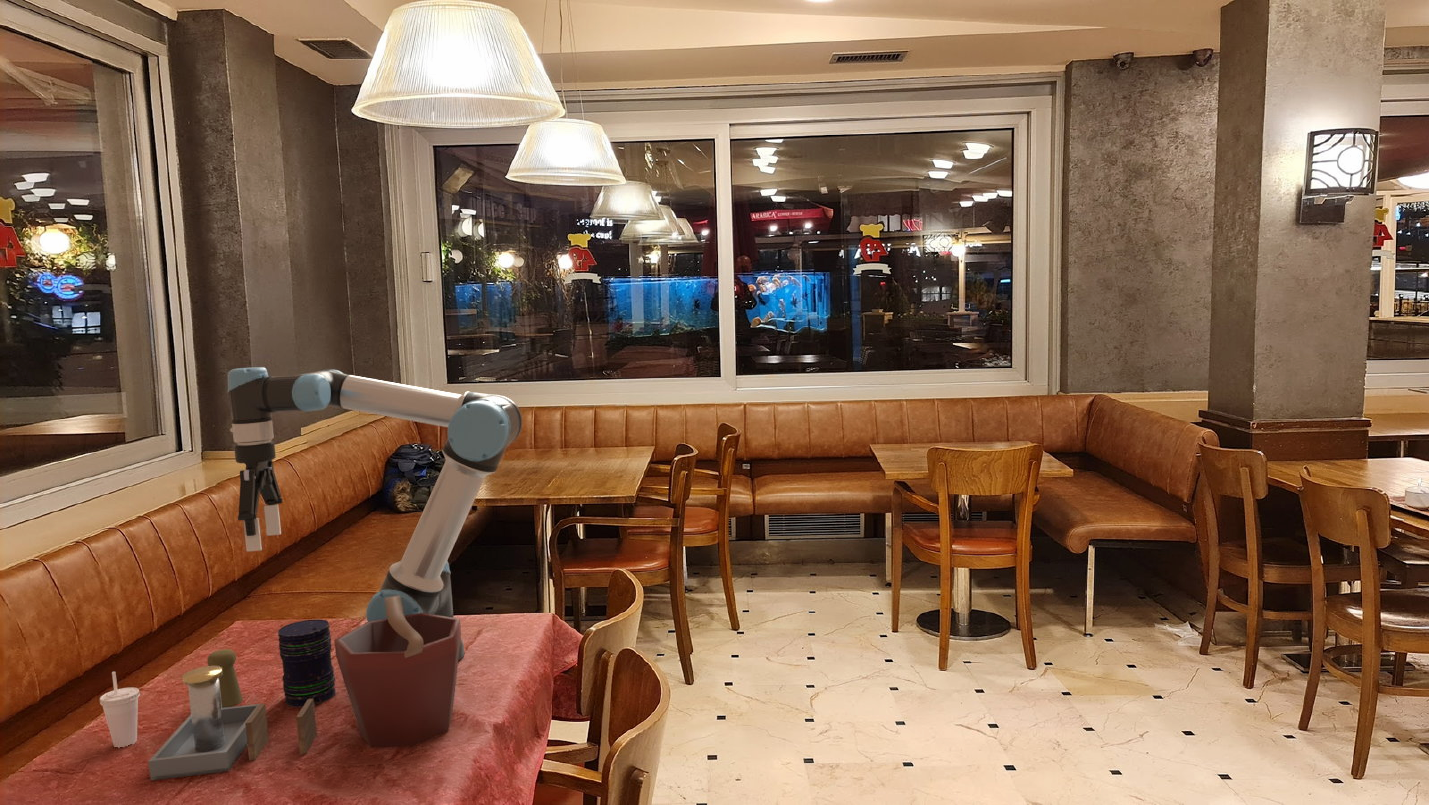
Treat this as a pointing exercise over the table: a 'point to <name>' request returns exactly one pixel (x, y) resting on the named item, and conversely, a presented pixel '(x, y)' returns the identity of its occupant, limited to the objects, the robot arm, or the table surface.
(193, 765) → the tray
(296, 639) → the storage jar
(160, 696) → the table surface
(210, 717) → the silver metal cylinder
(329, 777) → the table surface
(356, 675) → the bucket
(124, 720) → the smoothie
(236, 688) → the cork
